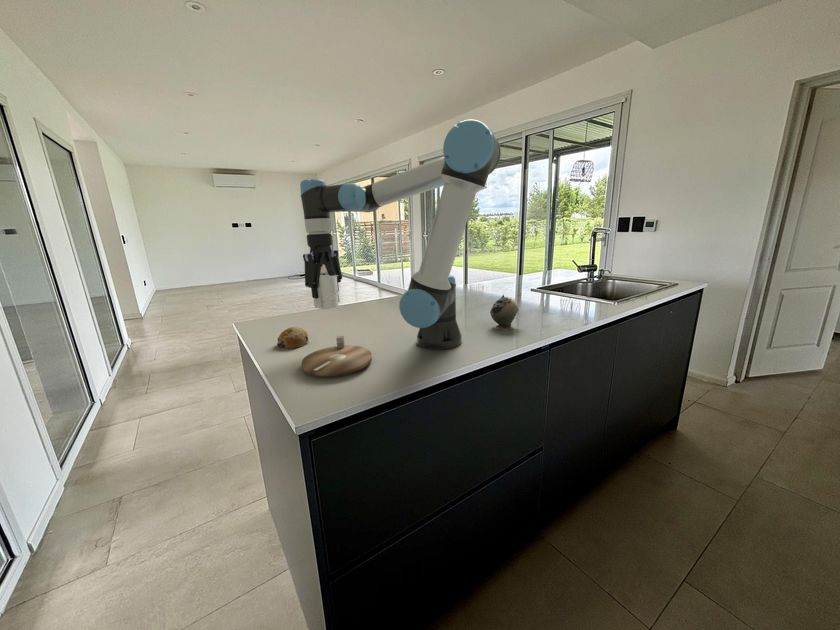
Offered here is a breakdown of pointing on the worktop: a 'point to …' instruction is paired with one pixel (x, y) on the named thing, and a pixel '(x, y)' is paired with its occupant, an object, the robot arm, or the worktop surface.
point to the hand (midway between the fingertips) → (327, 304)
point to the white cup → (328, 291)
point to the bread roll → (292, 338)
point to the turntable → (336, 359)
